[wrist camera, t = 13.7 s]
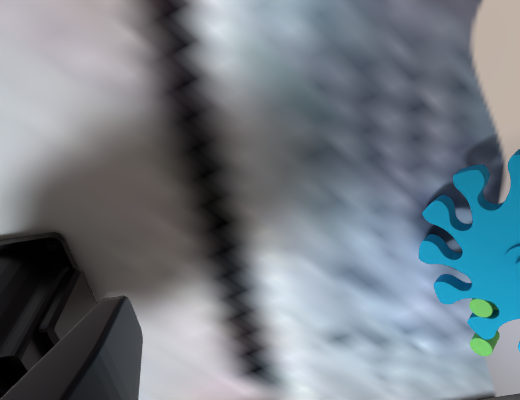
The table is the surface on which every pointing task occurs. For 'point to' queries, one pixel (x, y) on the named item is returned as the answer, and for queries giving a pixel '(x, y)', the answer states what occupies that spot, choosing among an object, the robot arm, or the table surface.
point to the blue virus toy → (480, 253)
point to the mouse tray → (505, 397)
